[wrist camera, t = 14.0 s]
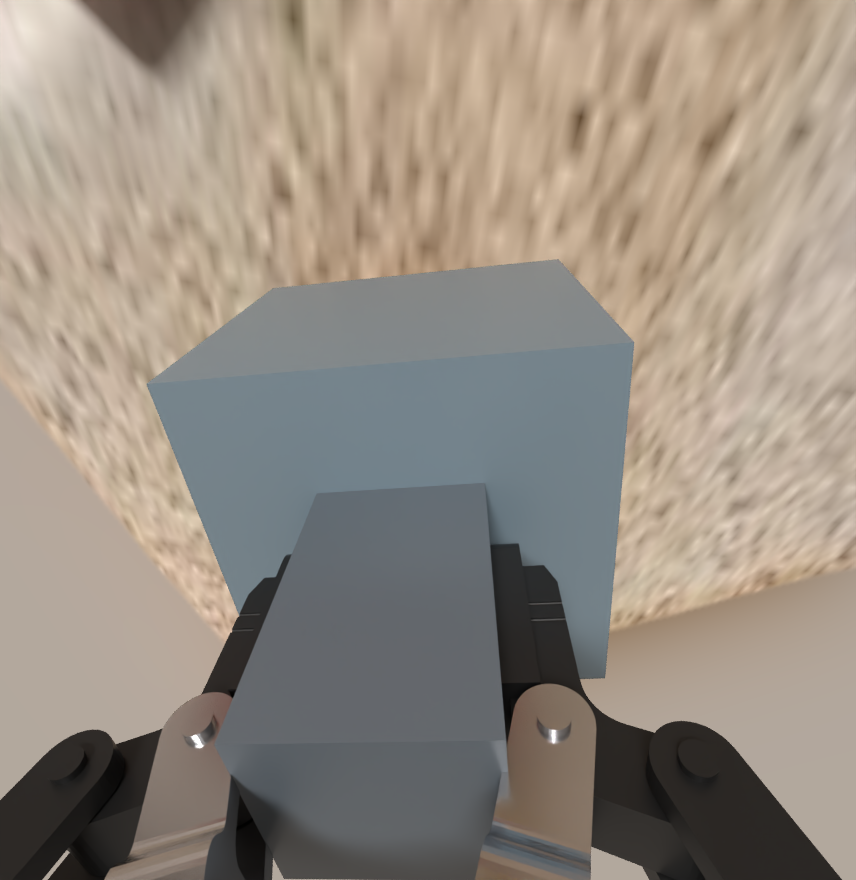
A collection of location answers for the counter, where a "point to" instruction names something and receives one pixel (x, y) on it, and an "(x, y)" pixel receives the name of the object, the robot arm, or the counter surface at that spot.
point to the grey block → (397, 540)
